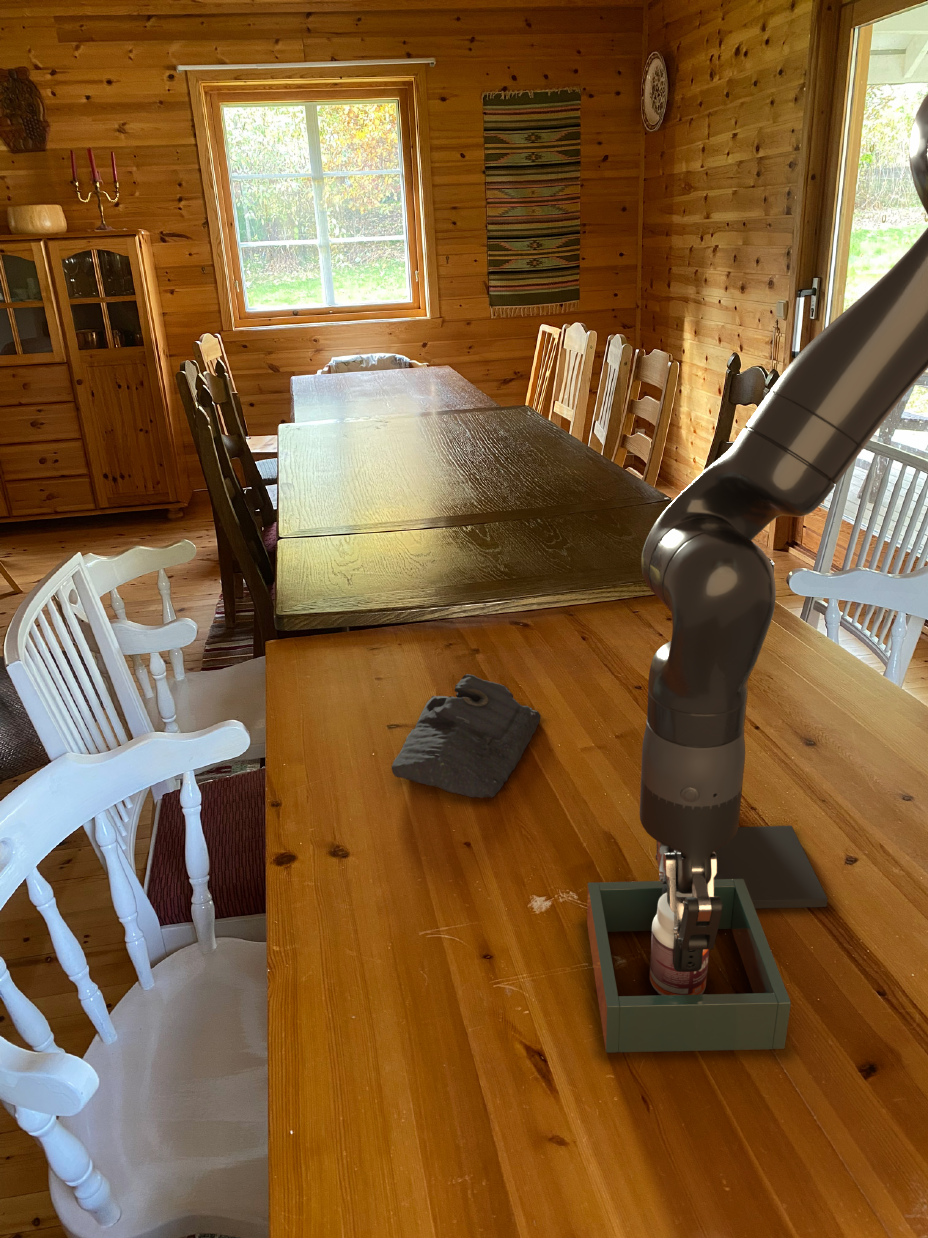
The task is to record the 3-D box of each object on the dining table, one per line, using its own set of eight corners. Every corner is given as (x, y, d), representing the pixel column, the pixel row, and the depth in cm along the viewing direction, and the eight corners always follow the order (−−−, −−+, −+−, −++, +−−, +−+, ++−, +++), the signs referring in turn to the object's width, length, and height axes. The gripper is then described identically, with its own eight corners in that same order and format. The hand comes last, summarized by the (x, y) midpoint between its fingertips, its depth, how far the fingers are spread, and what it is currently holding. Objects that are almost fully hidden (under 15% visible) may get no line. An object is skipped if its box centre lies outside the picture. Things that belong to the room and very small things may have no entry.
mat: (790, 833, 95) (791, 825, 95) (826, 907, 85) (828, 899, 85) (684, 836, 96) (685, 828, 95) (708, 910, 86) (709, 902, 85)
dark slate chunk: (370, 787, 107) (366, 752, 105) (438, 696, 125) (435, 665, 123) (495, 808, 102) (494, 772, 100) (546, 711, 120) (546, 679, 118)
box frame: (739, 921, 84) (743, 878, 82) (785, 1049, 72) (791, 1002, 70) (587, 925, 85) (587, 882, 83) (605, 1053, 72) (606, 1006, 70)
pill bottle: (702, 1010, 75) (709, 932, 72) (644, 996, 77) (648, 919, 74) (709, 968, 80) (716, 892, 76) (654, 955, 81) (658, 881, 78)
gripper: (768, 831, 63) (748, 1012, 70) (719, 722, 76) (706, 884, 83) (658, 834, 63) (649, 1014, 70) (628, 725, 76) (623, 886, 83)
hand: (680, 942), depth 76 cm, fingers closed on pill bottle, 4 cm apart
